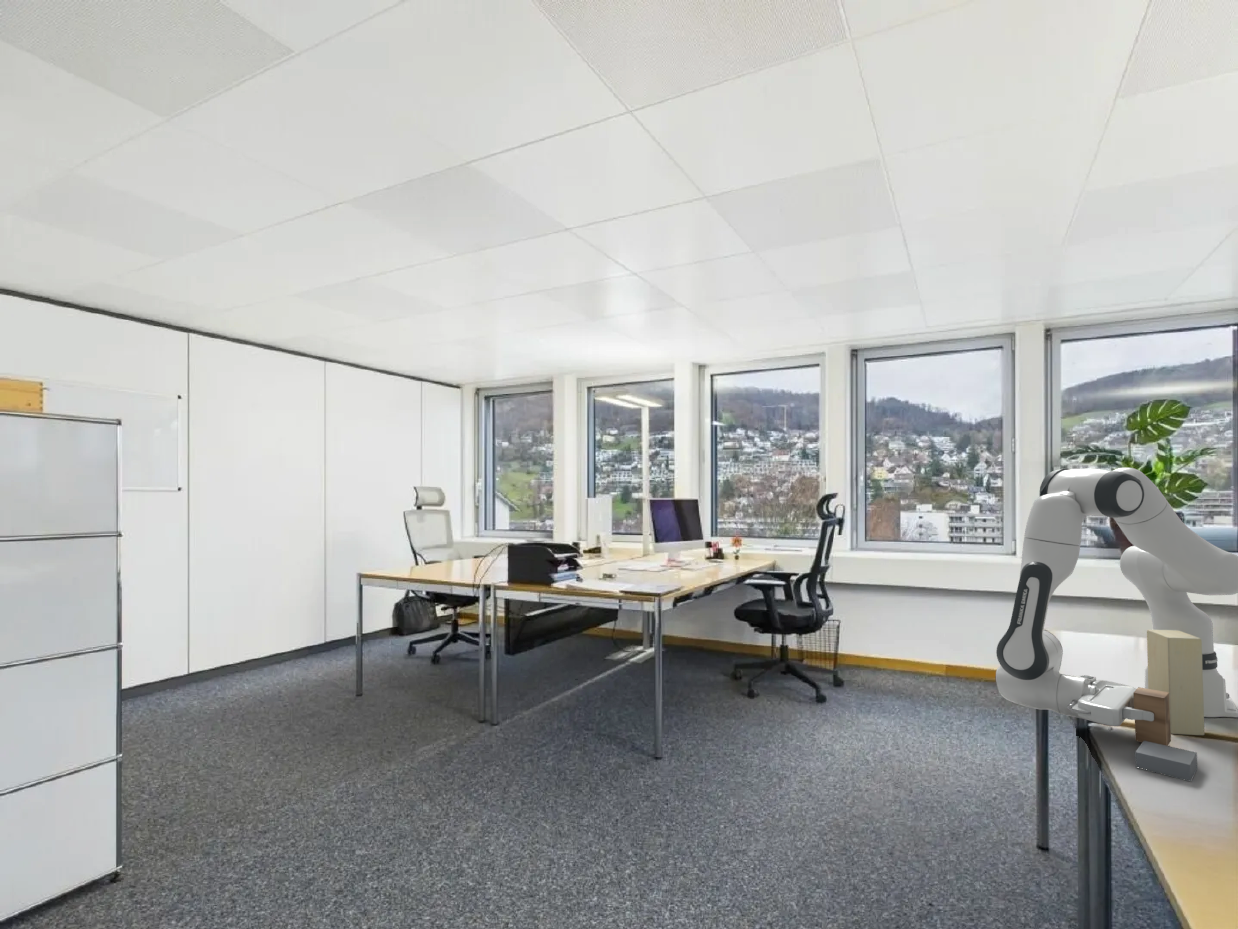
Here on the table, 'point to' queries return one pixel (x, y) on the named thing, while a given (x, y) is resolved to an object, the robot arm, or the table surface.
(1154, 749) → the base brick
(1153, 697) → the walnut brick
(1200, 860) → the table surface
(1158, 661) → the tall pale wood block
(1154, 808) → the table surface
